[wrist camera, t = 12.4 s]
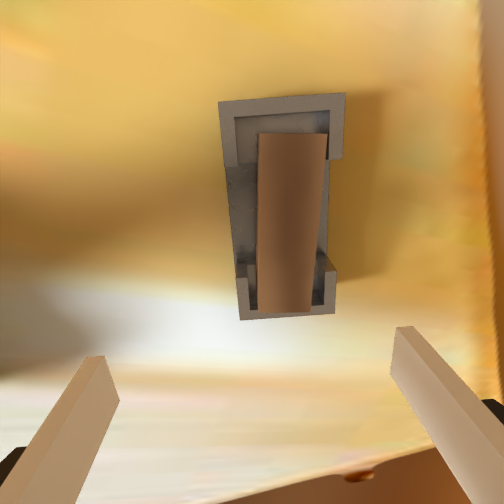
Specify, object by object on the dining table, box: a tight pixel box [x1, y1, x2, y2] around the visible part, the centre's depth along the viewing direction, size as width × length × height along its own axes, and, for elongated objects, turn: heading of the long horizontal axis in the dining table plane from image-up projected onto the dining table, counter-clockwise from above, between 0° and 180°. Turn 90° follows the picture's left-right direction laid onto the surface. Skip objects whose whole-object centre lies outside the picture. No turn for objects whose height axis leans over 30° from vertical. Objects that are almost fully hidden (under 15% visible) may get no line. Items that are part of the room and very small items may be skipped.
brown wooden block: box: [256, 133, 328, 313], centre depth 28 cm, size 5×16×6 cm, turn 0°
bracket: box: [218, 92, 346, 320], centre depth 30 cm, size 11×22×6 cm, turn 4°
